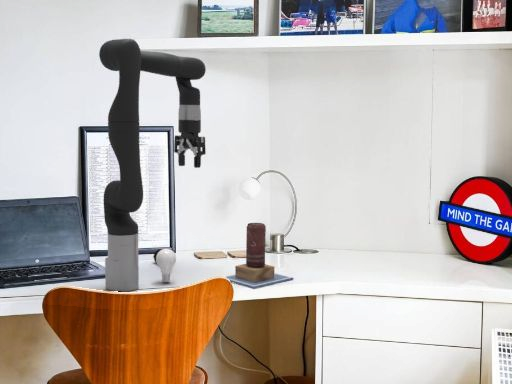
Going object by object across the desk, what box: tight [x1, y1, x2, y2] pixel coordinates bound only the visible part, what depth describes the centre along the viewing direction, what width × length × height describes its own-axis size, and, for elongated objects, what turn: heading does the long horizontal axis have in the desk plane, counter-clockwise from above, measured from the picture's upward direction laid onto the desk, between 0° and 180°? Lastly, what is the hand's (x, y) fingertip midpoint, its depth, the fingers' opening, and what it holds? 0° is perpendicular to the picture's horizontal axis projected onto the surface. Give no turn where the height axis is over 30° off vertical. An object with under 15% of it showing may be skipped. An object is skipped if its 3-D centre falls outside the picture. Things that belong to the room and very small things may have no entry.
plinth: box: [234, 263, 275, 283], centre depth 219 cm, size 9×9×4 cm
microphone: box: [152, 248, 163, 264], centre depth 235 cm, size 6×6×20 cm
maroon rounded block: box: [245, 222, 267, 268], centre depth 218 cm, size 6×6×14 cm
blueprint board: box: [224, 272, 294, 290], centre depth 220 cm, size 18×16×1 cm
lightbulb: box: [155, 248, 177, 284], centre depth 214 cm, size 6×6×11 cm
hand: (189, 166), depth 227 cm, fingers open, 8 cm apart
